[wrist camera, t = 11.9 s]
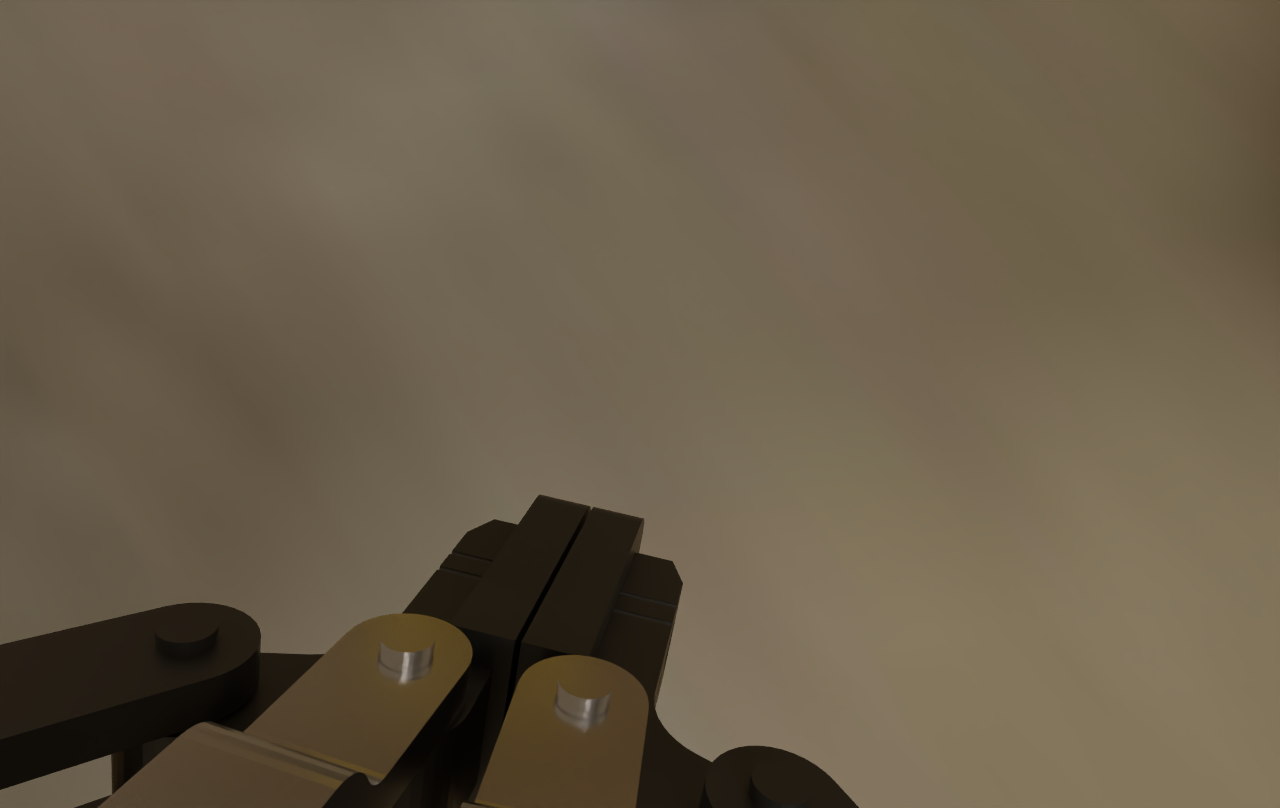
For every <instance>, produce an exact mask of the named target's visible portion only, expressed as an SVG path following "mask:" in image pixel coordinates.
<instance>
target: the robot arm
mask: <svg viewBox="0 0 1280 808" xmlns="http://www.w3.org/2000/svg"><path fill="white" fill-rule="evenodd" d="M643 527H644V519H643V518H639V517H635V516H630V515H626V514H622V513H617V512H613V511H609V510H604V509H600V508H596V507H593V508H592V510H591V508H590V506H587V505H582V504H578V503H574V502H569V501H565V500H561V499H556V498H552V497H548V496H544V495H539V496H538V497H537V498H536V500H535V501H534V502H533V504H532V505H531V507H530V508H529V510H528V511H527V513H526V514H525V515H524V517H523V518H522V520H521V521H520V523H519V524H518V525H516V524H512V523H508V522H504V521H500V520H495V519H494V520H492V521H490V522H488V523H486V524H483V525H481V526H479V527H477V528H475V529H473V530H470V531H468V532H467V533H466V534H465V535H464V537H463V538H462V539H461V540H460V542H459V543H458V544H457V545H456V547H455V548H454V549H453V550H452V554H449V555H448V557H447V558H446V559H445V560H444V562H443V563H442V564H441V565H440V569H439V570H436V572H435V573H434V574H433V575H432V577H431V578H430V579H429V580H428V582H427V583H426V584H425V585H424V587H423V588H422V589H421V590H420V592H419V593H418V594H417V595H416V597H415V598H414V599H413V600H412V602H411V603H410V604H409V605H408V607H407V608H406V609H405V610H404V612H403V613H402V614H390V615H383V616H379V617H375V618H372V619H369V620H367V621H364V622H362V623H360V624H358V625H357V626H355V627H354V628H352V629H351V630H350V631H349V632H347V633H346V634H345V635H344V636H343V637H342V638H341V639H340V640H339V641H338V642H337V643H336V644H335V645H334V646H333V647H332V648H331V649H330V650H329V651H328V652H326V653H325V654H313V655H307V654H279V653H260V645H261V633H260V628H259V627H258V625H257V623H256V622H255V621H254V620H253V619H252V618H251V617H250V616H248V615H247V614H245V613H244V612H242V611H239V610H237V609H235V608H232V607H228V606H224V605H219V604H212V603H184V604H176V605H170V606H165V607H161V608H156V609H152V610H148V611H144V612H139V613H135V614H131V615H126V616H122V617H118V618H113V619H109V620H105V621H101V622H96V623H92V624H88V625H83V626H79V627H75V628H70V629H66V630H62V631H58V632H53V633H49V634H45V635H40V636H36V637H32V638H27V639H23V640H19V641H15V642H10V643H6V644H2V645H0V790H1V789H4V788H7V787H10V786H14V785H17V784H20V783H23V782H26V781H29V780H32V779H35V778H38V777H42V776H45V775H48V774H51V773H54V772H57V771H60V770H63V769H66V768H70V767H73V766H76V765H79V764H82V763H85V762H88V761H91V760H94V759H98V758H101V757H104V756H107V755H110V754H111V762H112V795H110V796H107V797H104V798H101V799H98V800H95V801H92V802H89V803H87V804H84V805H81V806H78V807H75V808H859V807H858V806H857V805H856V804H855V803H854V802H853V801H852V800H851V798H850V797H849V796H848V795H847V794H846V793H845V792H844V791H843V790H842V789H841V788H840V787H839V785H838V784H837V783H836V782H835V781H834V780H833V779H832V778H831V777H830V776H829V775H828V774H827V773H826V772H824V771H823V770H822V769H820V768H819V767H818V766H816V765H815V764H813V763H811V762H810V761H808V760H806V759H805V758H802V757H800V756H798V755H796V754H794V753H791V752H788V751H785V750H782V749H777V748H773V747H766V746H744V747H738V748H735V749H732V750H729V751H727V752H725V753H723V754H721V755H720V756H719V757H717V758H716V759H715V760H714V761H713V762H710V761H708V760H707V759H705V758H703V757H701V756H699V755H697V754H695V753H694V752H692V751H690V750H689V749H687V748H686V747H684V746H683V745H682V744H680V743H679V742H678V741H676V740H675V739H674V738H673V737H672V736H671V735H670V734H669V733H668V732H667V730H666V729H665V728H664V726H663V725H662V723H661V722H660V720H659V718H658V716H657V713H656V710H655V707H656V703H657V699H658V695H659V691H660V687H661V683H662V679H663V674H664V670H665V665H666V660H667V656H668V651H669V646H670V641H671V637H672V632H673V627H674V623H675V618H676V613H677V609H678V604H679V599H680V594H681V590H682V585H683V582H682V580H681V578H680V576H679V574H678V572H677V570H676V568H675V565H674V563H673V561H669V560H665V559H661V558H657V557H652V556H648V555H644V554H640V553H639V549H640V544H641V539H642V534H643Z"/></svg>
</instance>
